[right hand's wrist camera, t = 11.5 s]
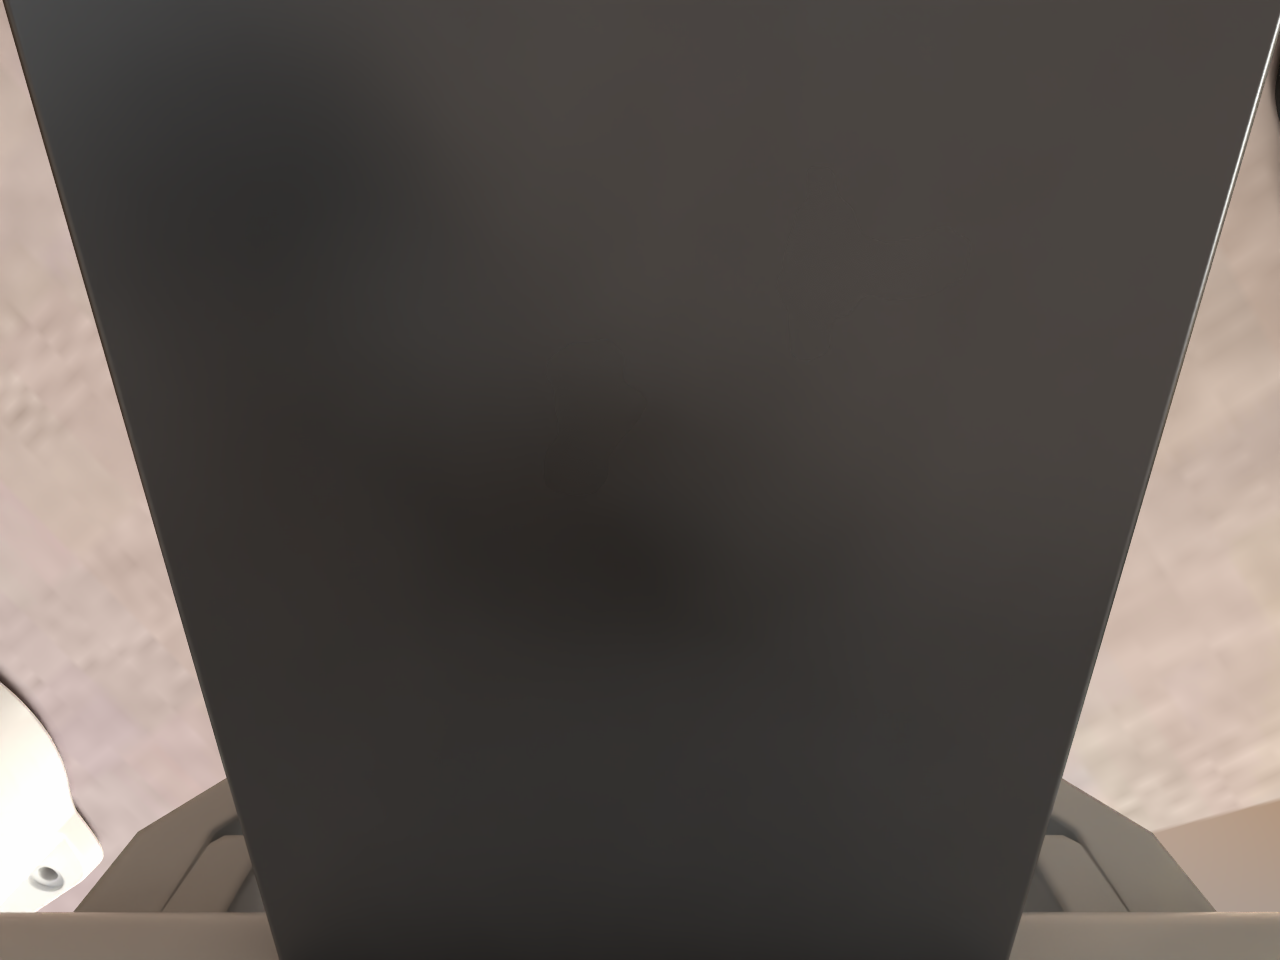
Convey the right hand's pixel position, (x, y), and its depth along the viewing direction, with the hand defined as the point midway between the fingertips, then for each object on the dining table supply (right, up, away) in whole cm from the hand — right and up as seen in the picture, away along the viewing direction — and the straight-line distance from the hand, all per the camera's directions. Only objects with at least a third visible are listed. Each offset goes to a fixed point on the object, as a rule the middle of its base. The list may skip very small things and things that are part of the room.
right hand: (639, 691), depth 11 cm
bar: (0, +10, -1) cm, 10 cm away
